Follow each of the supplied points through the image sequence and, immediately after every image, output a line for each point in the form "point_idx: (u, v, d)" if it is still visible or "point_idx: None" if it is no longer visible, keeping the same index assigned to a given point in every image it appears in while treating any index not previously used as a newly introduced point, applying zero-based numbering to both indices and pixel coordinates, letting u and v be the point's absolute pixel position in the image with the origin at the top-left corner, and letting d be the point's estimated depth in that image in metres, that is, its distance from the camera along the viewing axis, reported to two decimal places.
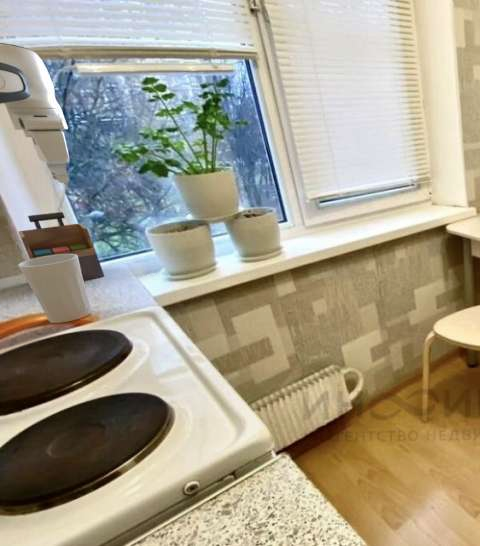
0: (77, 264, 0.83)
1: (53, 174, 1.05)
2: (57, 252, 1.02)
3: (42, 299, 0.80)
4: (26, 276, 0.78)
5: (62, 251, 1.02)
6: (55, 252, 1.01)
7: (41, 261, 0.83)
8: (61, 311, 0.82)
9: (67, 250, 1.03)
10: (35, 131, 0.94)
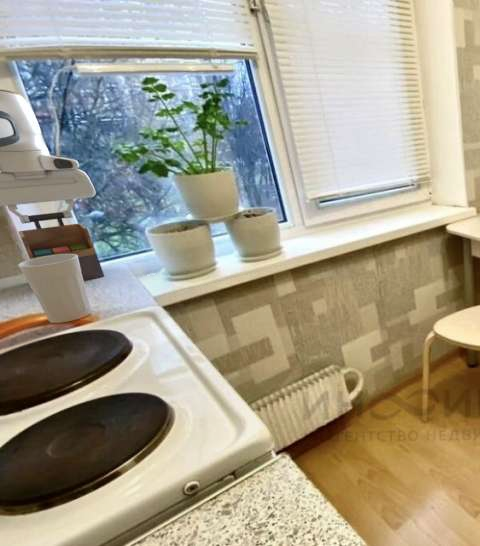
0: (77, 264, 0.83)
1: (28, 217, 1.01)
2: (57, 252, 1.02)
3: (42, 299, 0.80)
4: (26, 276, 0.78)
5: (62, 251, 1.02)
6: (55, 252, 1.01)
7: (41, 261, 0.83)
8: (61, 311, 0.82)
9: (67, 250, 1.03)
10: (78, 169, 1.05)
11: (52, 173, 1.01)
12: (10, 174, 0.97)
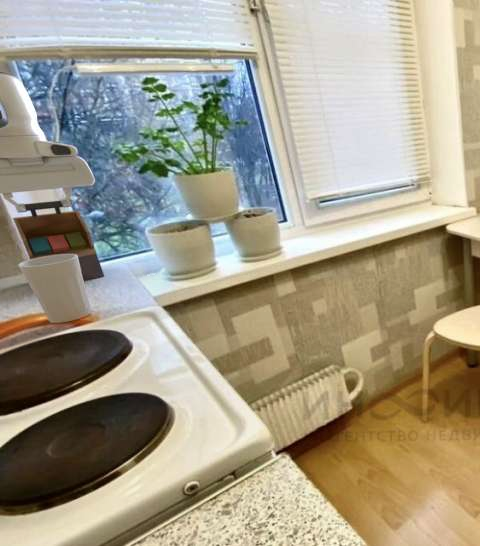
0: (77, 264, 0.83)
1: (24, 205, 0.97)
2: (56, 249, 1.01)
3: (42, 299, 0.80)
4: (26, 276, 0.78)
5: (61, 248, 1.01)
6: (54, 249, 1.00)
7: (41, 261, 0.83)
8: (61, 311, 0.82)
9: (66, 247, 1.02)
10: (76, 156, 1.00)
11: (49, 160, 0.97)
12: (5, 160, 0.92)
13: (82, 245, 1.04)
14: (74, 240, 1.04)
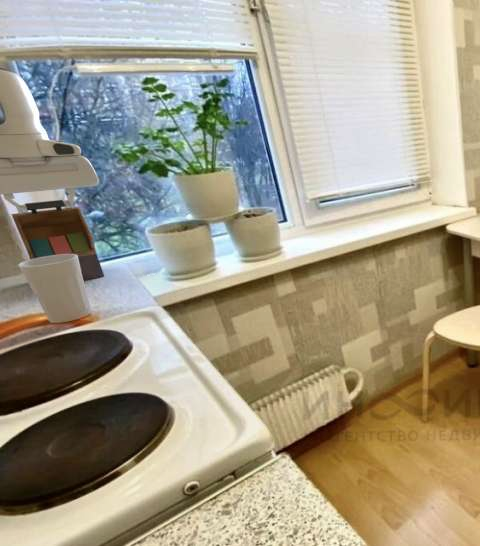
0: (77, 264, 0.83)
1: (26, 207, 0.93)
2: None
3: (42, 299, 0.80)
4: (26, 276, 0.78)
5: None
6: None
7: (41, 261, 0.83)
8: (61, 311, 0.82)
9: None
10: None
11: (52, 159, 0.93)
12: (6, 160, 0.89)
13: (85, 250, 1.03)
14: (77, 244, 1.02)
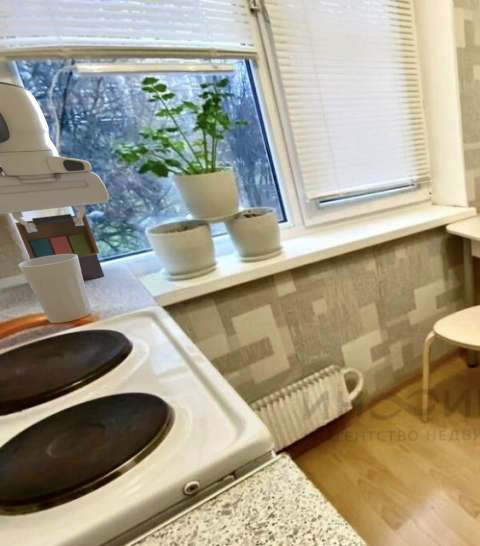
0: (77, 264, 0.83)
1: None
2: None
3: (42, 299, 0.80)
4: (26, 276, 0.78)
5: None
6: None
7: (41, 261, 0.83)
8: (61, 311, 0.82)
9: None
10: (90, 171, 0.94)
11: (61, 176, 0.90)
12: (15, 177, 0.86)
13: (86, 253, 1.03)
14: (78, 247, 1.01)
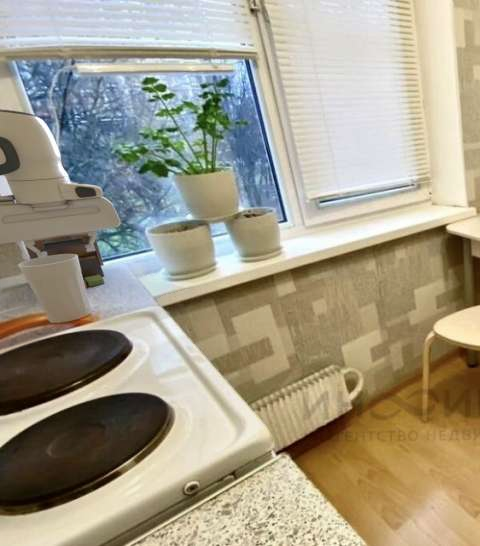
0: (77, 264, 0.83)
1: (46, 252, 0.90)
2: None
3: (42, 299, 0.80)
4: (26, 276, 0.78)
5: None
6: None
7: (41, 261, 0.83)
8: (61, 311, 0.82)
9: None
10: (102, 197, 0.94)
11: (73, 203, 0.90)
12: (27, 205, 0.85)
13: None
14: None
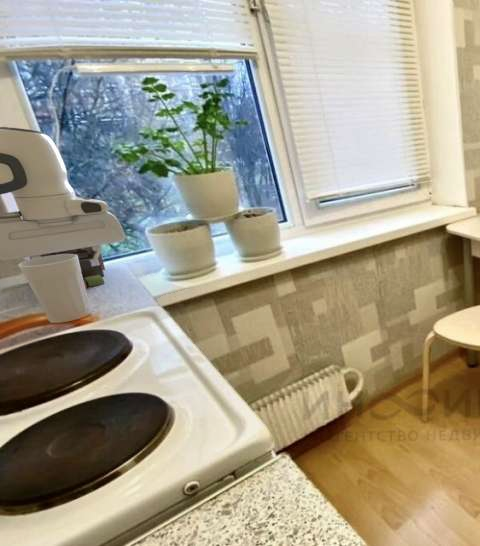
0: (77, 264, 0.83)
1: None
2: None
3: (42, 299, 0.80)
4: (26, 276, 0.78)
5: None
6: None
7: (41, 261, 0.83)
8: (61, 311, 0.82)
9: None
10: (107, 212, 0.94)
11: (79, 218, 0.91)
12: (33, 221, 0.86)
13: None
14: None
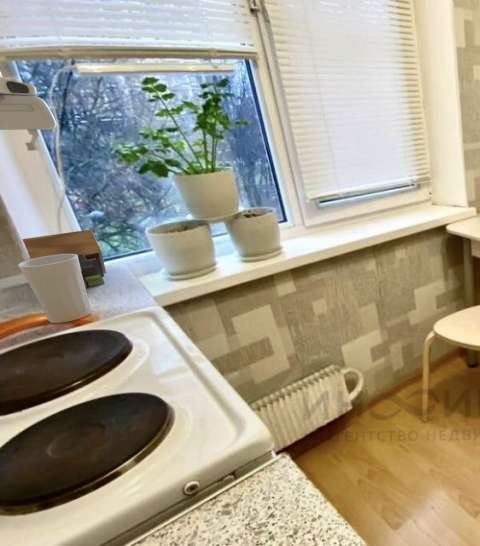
0: (77, 264, 0.83)
1: None
2: None
3: (42, 299, 0.80)
4: (26, 276, 0.78)
5: None
6: None
7: (41, 261, 0.83)
8: (61, 311, 0.82)
9: None
10: None
11: (5, 97, 0.92)
12: None
13: None
14: None
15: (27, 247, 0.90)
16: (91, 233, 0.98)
